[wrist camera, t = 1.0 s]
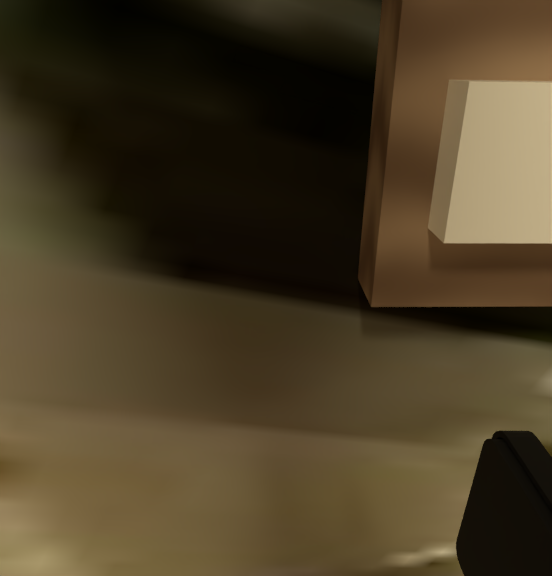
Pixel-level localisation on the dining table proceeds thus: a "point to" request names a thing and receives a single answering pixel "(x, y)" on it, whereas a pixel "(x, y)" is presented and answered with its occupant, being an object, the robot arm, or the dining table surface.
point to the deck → (425, 147)
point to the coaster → (494, 163)
